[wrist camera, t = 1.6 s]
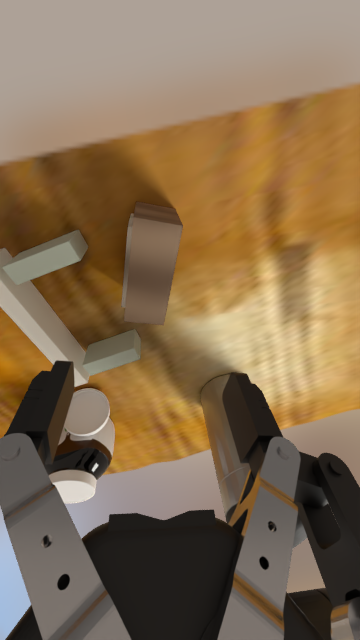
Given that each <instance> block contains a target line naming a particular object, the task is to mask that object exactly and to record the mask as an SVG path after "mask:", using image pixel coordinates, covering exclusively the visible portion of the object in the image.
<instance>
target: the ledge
mask: <svg viewBox="0 0 360 640" xmlns="http://www.w3.org/2000/svg"><path fill="white" fill-rule="evenodd" d="M87 249H88V245H87V243H86V242H85V240H84V238H83V236H82V235H81V233H80V231H79V229H78V230H76V231H73V232H71V233H68V234H66V235H63V236H61V237H58V238H56V239H53V240H50V241H48V242H45V243H43V244H40V245H38V246H35V247H33V248H30V249H28V250H25V251H23V252H20V253H19V254H18V255H16V256H15V257H14V258H13V257H12V256H11V255H10V254H9V252H8V251H7V250H6V248H2V249H0V307H1V308H2V309H3V310H4V311H5V312H6V313H7V314H8V315H9V317H10V318H11V319H12V320H13V321H14V322H15V323H16V324H17V325H18V326H19V328H20V329H21V330H22V331H23V332H24V333H25V334H26V335H27V336H28V337H29V338H30V340H31V341H32V342H33V343H34V344H35V345H36V346H37V347H38V348H39V349H40V351H41V352H42V353H43V354H44V355H45V356H46V357H47V358H48V359H49V360H50V361H51V363H52V364H53V365H54V363H55V361H56V360H59V361H73V363H74V382H75V384H74V387H76V386H79V385H82V384H85V383H88V379H89V375H90V376H91V375H94V374H97V373H100V372H103V371H106V370H109V369H112V368H115V367H118V366H121V365H124V364H127V363H130V362H133V361H136V360H139V359H140V357H141V338H140V337H139V335H138V333H137V331H136V330H135V329H133V330H130V331H127V332H124V333H122V334H119V335H116V336H113V337H110V338H107V339H104V340H101V341H98V342H96V343H93V344H90V345H88V348H87V351H86V352H85V351H84V349H83V348H82V347H81V346H80V344H79V343H78V342H77V340H76V339H75V338H74V337H73V335H72V334H71V333H70V331H69V330H68V329H67V327H66V326H65V325H64V324H63V322H62V321H61V320H60V318H59V317H58V316H57V314H56V313H55V312H54V311H53V309H52V308H51V307H50V305H49V304H48V303H47V302H46V300H45V299H44V298H43V296H42V295H41V294H40V292H39V291H38V290H37V289H36V287H35V286H34V285H33V283H32V282H31V281H30V280H32V279H34V278H37V277H39V276H42V275H45V274H47V273H50V272H52V271H55V270H58V269H60V268H63V267H65V266H68V265H71V264H73V263H76V262H78V261H81V259H82V257H83V256H84V254H85V252H86V251H87Z"/></svg>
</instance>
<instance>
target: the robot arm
mask: <svg viewBox="0 0 360 640" xmlns="http://www.w3.org/2000/svg"><path fill="white" fill-rule="evenodd" d="M74 384H75V382H74V363H73V361H59V360H56V361H55V363H54V365H53V368H52V370H51V371H41V372H40V373H39V374H38V375H37V376H36V377H35V378H34V379H33V380H32V382H31V384H30V386H29V388H28V391H27V392H26V394H25V396H24V400H22V402H21V404H20V407H19V409H18V411H17V413H16V415H15V417H14V419H13V421H12V423H11V425H10V427H9V429H8V431H7V433H6V434H5V435H4V437H2V438H1V439H0V506H1V509H2V512H3V516H4V520H5V524H6V528H7V531H8V534H9V537H10V540H11V543H12V546H13V549H14V552H15V555H16V559H17V562H18V564H19V568H20V571H21V574H22V577H23V580H24V583H25V586H26V589H27V592H28V596H29V598H30V602H31V606H30V607H29V609H28V610H27V611H26V612H25V614H24V615H23V617H22V618H21V619H20V621H19V622H18V623H17V625H16V626H15V627H14V629H13V630H12V632H11V633H10V634H9V635H8V637H7V638H6V639H5V640H360V487H359V486H358V484H357V482H356V480H355V479H354V477H353V475H352V473H351V472H350V470H349V468H348V467H347V465H346V464H345V463H344V462H343V461H342V460H341V459H340V458H338V457H337V456H335V455H333V454H330V453H322V454H321V455H320V456H319V457H318V458H316V457H314V456H311V455H308V454H305V453H302V452H299V451H298V450H297V448H296V447H295V446H294V444H293V443H291V442H290V441H289V440H287V439H285V438H283V436H282V434H281V431H280V429H279V427H278V425H277V423H276V421H275V419H274V416H273V414H272V412H271V410H270V409H269V406H268V403H267V402H266V399H265V397H264V395H263V393H262V391H261V390H260V389H259V388H258V387H257V386H256V384H252V383H251V381H250V380H249V377H248V375H247V374H245V373H231V374H228V375H223V376H219V377H217V378H214V379H213V380H211V381H209V382H208V383H207V384H206V385H205V386H204V387H203V389H202V391H201V394H200V398H201V403H202V408H203V413H204V418H205V423H206V427H207V432H208V437H209V442H210V446H211V451H212V456H213V461H214V465H215V470H216V474H217V480H218V484H219V489H220V493H221V498H222V502H223V507H224V512H225V516H226V521H227V523H226V522H224V521H222V520H220V519H218V518H215V514H214V510H196V511H188V512H185V513H183V514H180V515H178V516H175V517H173V518H170V519H168V520H159V519H156V518H152V517H149V516H145V515H141V514H138V513H132V514H110V515H109V522H108V523H105V524H102V525H100V526H98V527H97V528H95V529H93V530H92V531H91V532H89V533H88V534H87V535H85V536H84V537H83V538H82V539H81V538H80V535H79V533H78V531H77V529H76V527H75V525H74V523H73V521H72V519H71V517H70V515H69V512H68V510H67V508H66V506H65V504H64V502H63V500H62V498H61V496H60V494H59V492H58V490H57V488H56V486H55V485H54V484H52V482H51V480H50V478H49V476H48V474H47V472H46V470H45V467H44V465H45V464H53V460H54V457H55V454H56V450H57V447H58V444H59V440H60V437H61V433H62V430H63V427H64V423H65V420H66V417H67V413H68V410H69V407H70V403H71V400H72V397H73V392H74ZM328 503H329V504H328ZM332 512H333V513H332ZM333 514H334V515H333ZM337 523H338V524H337ZM338 525H339V526H338ZM307 537H308V540H309V543H310V545H311V548H312V551H313V554H314V557H315V559H316V562H317V565H318V568H319V570H320V573H321V576H322V579H323V581H324V584H325V587H326V588H321V589H314V590H307V591H300V592H294V593H287V592H286V588H287V582H288V575H289V568H290V562H291V555H292V549H293V548H294V547H296V546H297V545H298V544H300V543H301V542H302V541H304V540H305V539H306V538H307Z"/></svg>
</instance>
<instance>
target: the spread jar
mask: <svg viewBox="0 0 360 640" xmlns="http://www.w3.org/2000/svg"><path fill="white" fill-rule="evenodd" d="M109 415H110V406H109V401H108V399H107V397H106V396H105V395H104V393H102V392H101V391H99V390H97V389H93V388H85V389H81V390H78V391H76V392H74V393H73V397H72V400H71V403H70V407H69V410H68V413H67V417H66V420H65V423H64V427H63V430H62V433H61V437H60V440H59V444H58V447H57V450H56V454H55V457H54V460H53V464H45V465H44V467H45V470H46V472H47V474H48V476H49V478H50V480H51V482H52V484H54V485H55V486H56V488H57V490H58V492H59V494H60V496H61V498H62V500H63V502H64V503H78V502H82V501H85V500H87V499H89V498H91V497H92V496H93V495H94V493H95V488H96V480H97V479H98V478H100V477H101V476H102V475H103V473H104V472H105V471H106V470H107V468H108V467H109V465H110V462H111V460H112V455H113V449H114V440H115V428H114V424H113V422H112V420H111V418H110V417H109Z"/></svg>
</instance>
